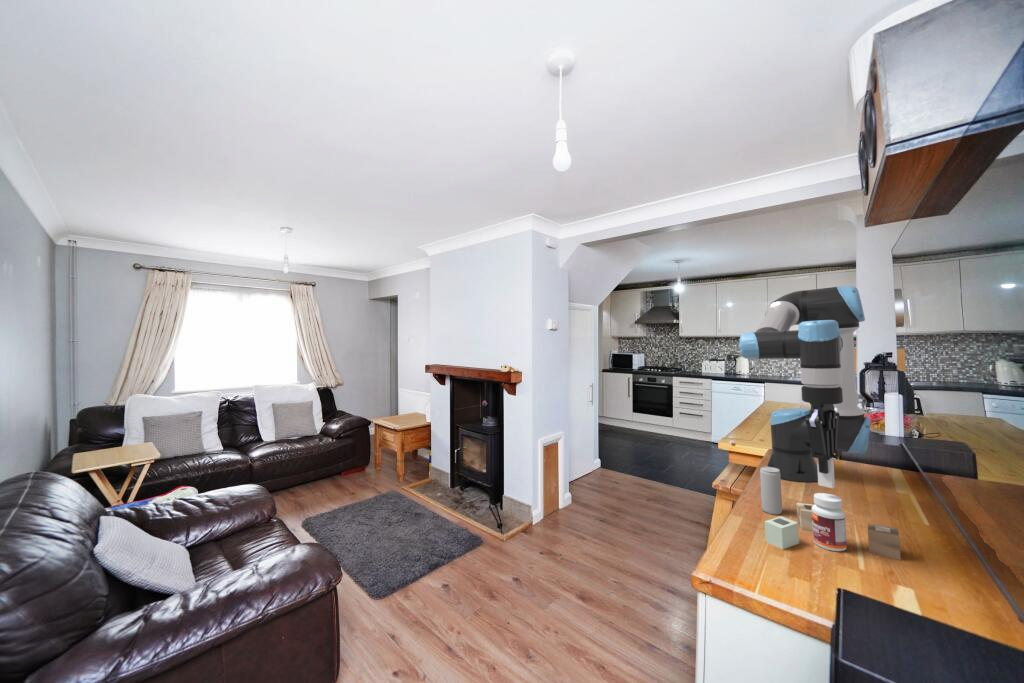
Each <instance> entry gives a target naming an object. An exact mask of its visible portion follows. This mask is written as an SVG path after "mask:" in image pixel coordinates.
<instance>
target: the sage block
mask: <svg viewBox="0 0 1024 683" xmlns="http://www.w3.org/2000/svg"><path fill="white" fill-rule="evenodd" d="M764 533H765V534H764V536H765V543H768V544H770V545H772V546H774V547H777V548H778V549H780V550H786V549H788V548H790V547H793V546H796V545H799V544H800V533H799V523H798V521H794V520H792V519H789V518H787V517H784V516H782V515H779V516H777V517H774V518H771V519H768V520H764Z"/></svg>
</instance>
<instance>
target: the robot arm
mask: <svg viewBox="0 0 1024 683" xmlns="http://www.w3.org/2000/svg"><path fill="white" fill-rule="evenodd" d="M865 320H866V316H865V313H864V309H863V304H862V299H861V296H860V292H859V289H858V288H857V287H856V286H853V285H842V286H838V285H837V286H832V287H825V288H824V287H823V288H816V289H807V290H804V289H803V290H797V291H793V292H790V293H787V294H784V295H782V296H781V297H778V298H777V299H775V300H774V301H772V302H771V303H770V304H769V305H768V306H767V307H766V308H765V311H764V318H763V319H762V322H761V323H760V325H759V326H758V327H757V329H756V331H750V332H743V333H742V334H741V335H740V336H739V343H738V344H739V345H738V346H739V352H740V355H741V357H742V358H744V359H750V360H751V359H752V360H753V359H754V360H773V359H774V360H775V359H776V360H777V359H780V360H781V359H782V360H783V359H790V360H792V359H800V360H799V361H800V362H799V363H800V370H799V371H798V375H800V381H801V384H802V385H803V386H802V387H801V389H800V390H801V400H802V401H803V402H804V403H809V404H810V408H802V407H794V408H793V407H792V408H789V407H788V408H783V409H782V408H781V409H776V410H773V411H772V412H771V413H770V423H769V425H770V432H771V433H770V434H771V435H770V436H771V454H770V456H769V459H768V462H767V465H766V467H773V468H777V469H779V470H780V477H781V479H782V480H787V481H792V482H798V483H800V482H801V483H803V482H804V483H813V482H817V484H818V486H821V487H825V488H829V489H835V487H836V481H835V468H834V466H835V465H834V463H835V461H834V459H839V455H838V452H845V453H846V454H847V453H856V454H863V453H866V452H867V450H868V447H869V438H870V431H871V430H870V429H871V422H872V421H871V418H870V417H868V416H865V410H863V409H861V408H860V407H859V406H858V393H857V391H858V390H857V375H856V373H857V372H856V359H855V358H856V356H855V341H854V339H855V338H854V332H856V331H857V330H858V329H859V328H860V323H862V322H864V321H865ZM793 326H798V330H797V329H795V330H790V329H791V328H792V327H793ZM815 459H816V460H815Z"/></svg>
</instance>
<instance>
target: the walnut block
mask: <svg viewBox="0 0 1024 683" xmlns="http://www.w3.org/2000/svg"><path fill="white" fill-rule="evenodd" d="M867 536H868V538H867V539H868V541H867V542H868V553H869V554H872V555H878V556H880V557H881V556H882V557H884V558H885V557H886V558H890V559H894V560H897V561H901V559H902V558H901V556H902V555H901V543H900V542H901V539H900V533H899V529H898V528H897V527H896V528H895V527H891V526H887V525H882V524H881V525H880V524H876V523H872V522H867Z"/></svg>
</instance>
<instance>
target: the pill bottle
mask: <svg viewBox="0 0 1024 683" xmlns="http://www.w3.org/2000/svg"><path fill="white" fill-rule="evenodd" d="M813 503H814V504H812V505H813V506H812V531H811V532H812V541H813V543H814V544H815V545H816V546H818V547H820V548H822V549H824V550H828V551H833V552H844V551H845V550H847V546H848V545H847V543H848V542H847V526H846V523H847V522H846V521H847V520H846V514H845V511H844V509H842V508H843V500H842V498H841V497H839V496H838V495H835V494H832V493H831V494H830V493H824V492H817V493H816V492H815V493H814V494H813Z"/></svg>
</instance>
